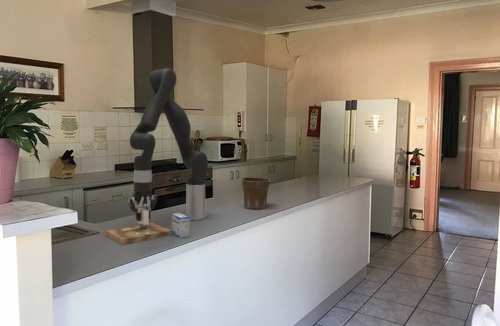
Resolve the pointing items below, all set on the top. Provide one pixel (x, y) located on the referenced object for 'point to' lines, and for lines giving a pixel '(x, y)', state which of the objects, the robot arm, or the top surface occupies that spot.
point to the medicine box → (180, 225)
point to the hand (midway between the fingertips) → (143, 219)
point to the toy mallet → (143, 222)
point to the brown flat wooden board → (138, 233)
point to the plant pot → (255, 192)
